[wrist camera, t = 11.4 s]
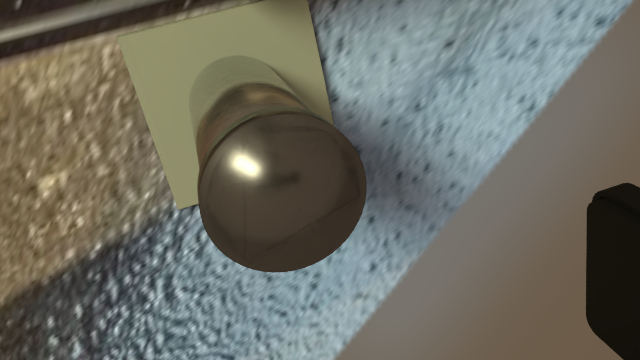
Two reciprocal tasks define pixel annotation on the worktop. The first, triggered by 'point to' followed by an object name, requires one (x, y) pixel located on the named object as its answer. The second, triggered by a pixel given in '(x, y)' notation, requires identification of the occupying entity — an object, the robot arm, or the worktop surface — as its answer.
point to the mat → (201, 50)
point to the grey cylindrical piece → (270, 169)
